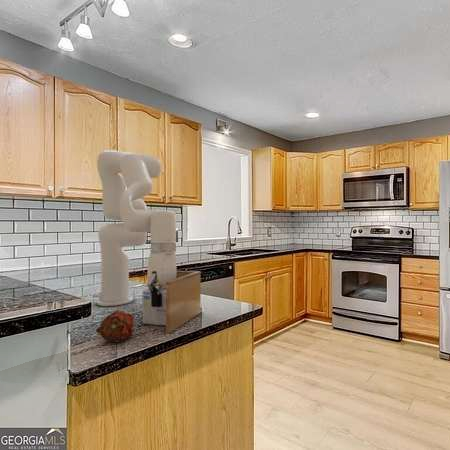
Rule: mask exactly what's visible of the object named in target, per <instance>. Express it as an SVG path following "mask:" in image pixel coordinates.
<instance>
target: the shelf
mask: <svg viewBox="0 0 450 450" xmlns="http://www.w3.org/2000/svg"><path fill="white" fill-rule="evenodd" d="M201 274H202V272H201V271H197V270H194V271H193V270H191V271H190V270H177V275H178V277H177V279H174V280H171V281H168V282H166V286H165V284H164V285H162V287H166V325H165V333H168V334H170V333H171V332H173V331H175V330H176V329H178V328H180V327H181V326H183V325H184V324H186V323H188V322H189V321H191V320H192V319H194V318H195V317H197V316H198V315H200V314H201V313H202V312H201V306H202V305H201V302H202V301H201V299H202V298H201Z"/></svg>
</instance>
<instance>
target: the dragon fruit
mask: <svg viewBox="0 0 450 450" xmlns="http://www.w3.org/2000/svg"><path fill="white" fill-rule="evenodd" d="M134 319H135V318H134V316H133V315H132V314H131V313H126V312H125V311H124V310H119V309H118V310H115V311H114V312H111V313H110V314H107V316H105V317H104V318H103V319H102V321H101V323H99V326H98V327H96V328H95V332H96V333H97V334H99V335H100V337H101V338H102V339H103V340H105V341H107V342H110V341H111V342H114V343H121V342H122V341H123V340H124V339H126V338H130V337H131V336H132V335H133V333H134V330H135V327H134V326H135V325H134Z"/></svg>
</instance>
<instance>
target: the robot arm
mask: <svg viewBox="0 0 450 450" xmlns="http://www.w3.org/2000/svg"><path fill="white" fill-rule="evenodd" d="M96 167H97V172H98V176H99V178H100V181H101V187H102V189H101V193H102V194H101V195H102V196H101V197H102V214H103V217H104V218H105V219H107V220H112V221H122V222H119V223H116V222H115V223H114V222H113V223H106V224H103V225H102V226H100V227H99V229H98V234H97V235H98V242H99V246H100V261H101V266H100V267H101V268H100V269H101V273H100V274H101V276H100V277H101V279H100V281H101V283H100V285H101V291H95V292H94V293H93V298H98V300H97V301H96V305H97V306H101V307H114V306H116V307H117V306H121V305H127V304H129V303H130V304H131V303H132V302H133V301H134V297H133V296H130V264H129V263H130V259H129V256H128V254H127V252H126V251H125V250H124V249H123V248H127V247H129V248H130V247H141V246H143V245H145V244H146V242H147V239H148V233H150V253H149V256H148V261H147V262H148V263H147V275H146V282H147V283H146V287H147V289H149V291H150V294H151V306H152V307H161V306H162V294H160V293H161V289H162V285H164V284H165V286H166V282H168V281H171V280H174V279H177V277H178V275H177V271H178V269H177V257H176V256H177V255H176V253H177V214H176V212H175V211H174V210H171V209H148V208H147V204H146V202H145V201H144V199H142V198H144V197H147V196H148V195H150V194H151V193H152V192H153V190H154V183H153V181H152V179H157V178H159V177H160V176H161V174H162V171H163V164H162V162H161V161H160V159H159V158H158V157H157V156H155V155H150V154H144V153H139V152H138V153H137V152H126V151H121V150H113V149H106V150H102V151H101V152H100V153H99V154H98V155H97V160H96ZM121 175H122V176H121ZM156 287H158V289H157V288H156Z"/></svg>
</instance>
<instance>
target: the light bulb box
mask: <svg viewBox="0 0 450 450" xmlns="http://www.w3.org/2000/svg"><path fill="white" fill-rule="evenodd" d="M155 287H156V288H157V289H158V287H157V286H155ZM160 294H162V306H161V307H152V306H151V294H150V291H149V288H146V289H143V290H142V324H143V325H154V326H155V325H156V326H166V287H162V289H161V293H160Z"/></svg>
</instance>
